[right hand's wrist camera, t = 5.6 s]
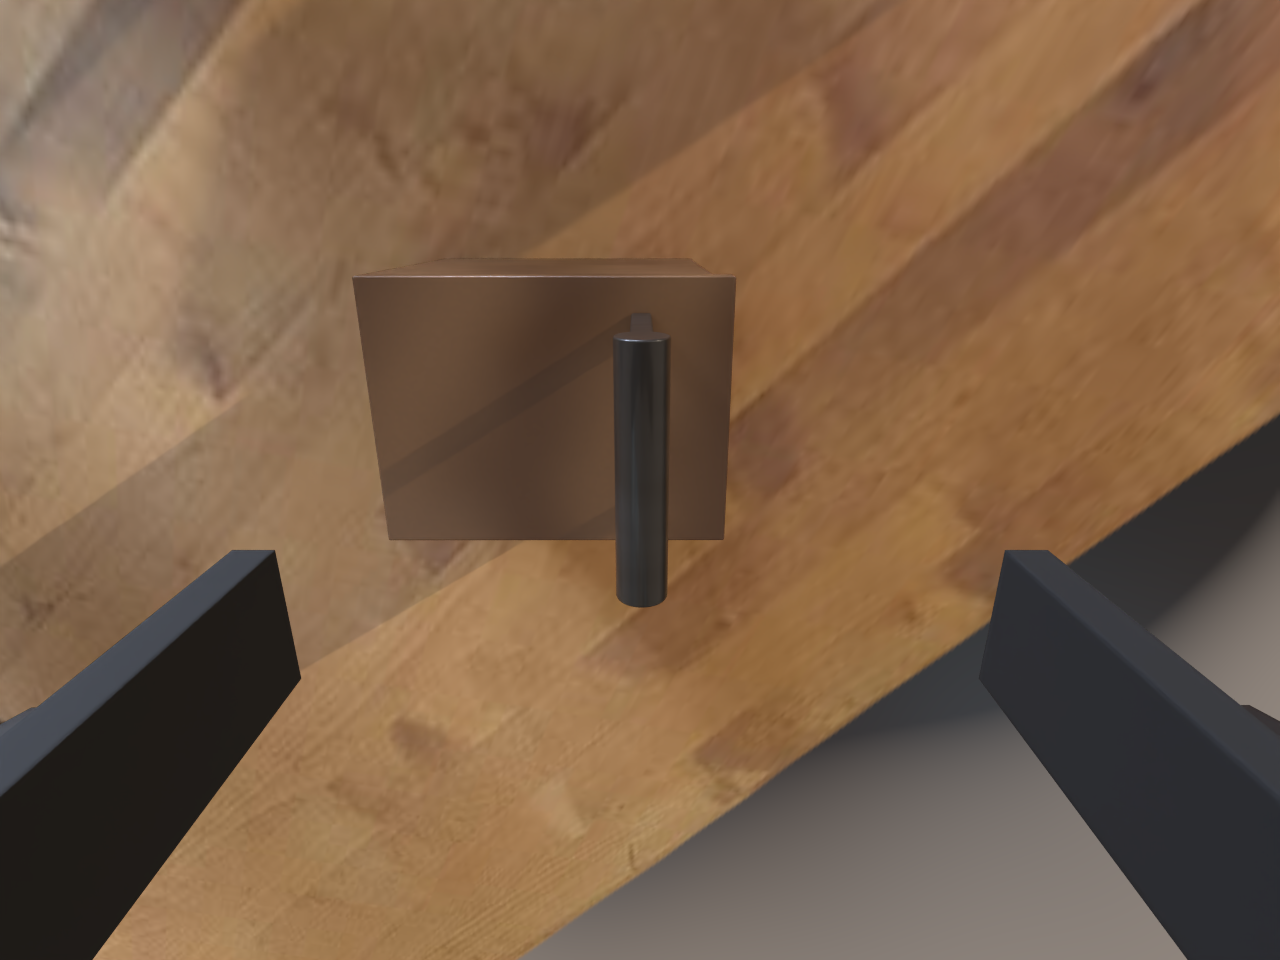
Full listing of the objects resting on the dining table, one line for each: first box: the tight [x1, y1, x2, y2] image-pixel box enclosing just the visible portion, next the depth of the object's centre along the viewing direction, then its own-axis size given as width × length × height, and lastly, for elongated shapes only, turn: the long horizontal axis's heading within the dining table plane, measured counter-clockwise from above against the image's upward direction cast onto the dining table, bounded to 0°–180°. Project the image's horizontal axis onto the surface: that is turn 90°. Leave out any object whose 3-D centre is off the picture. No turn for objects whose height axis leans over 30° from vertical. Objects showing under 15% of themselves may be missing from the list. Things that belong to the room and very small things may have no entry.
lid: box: [353, 274, 736, 607], centre depth 23 cm, size 13×10×8 cm
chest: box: [367, 259, 711, 274], centre depth 31 cm, size 12×10×11 cm
